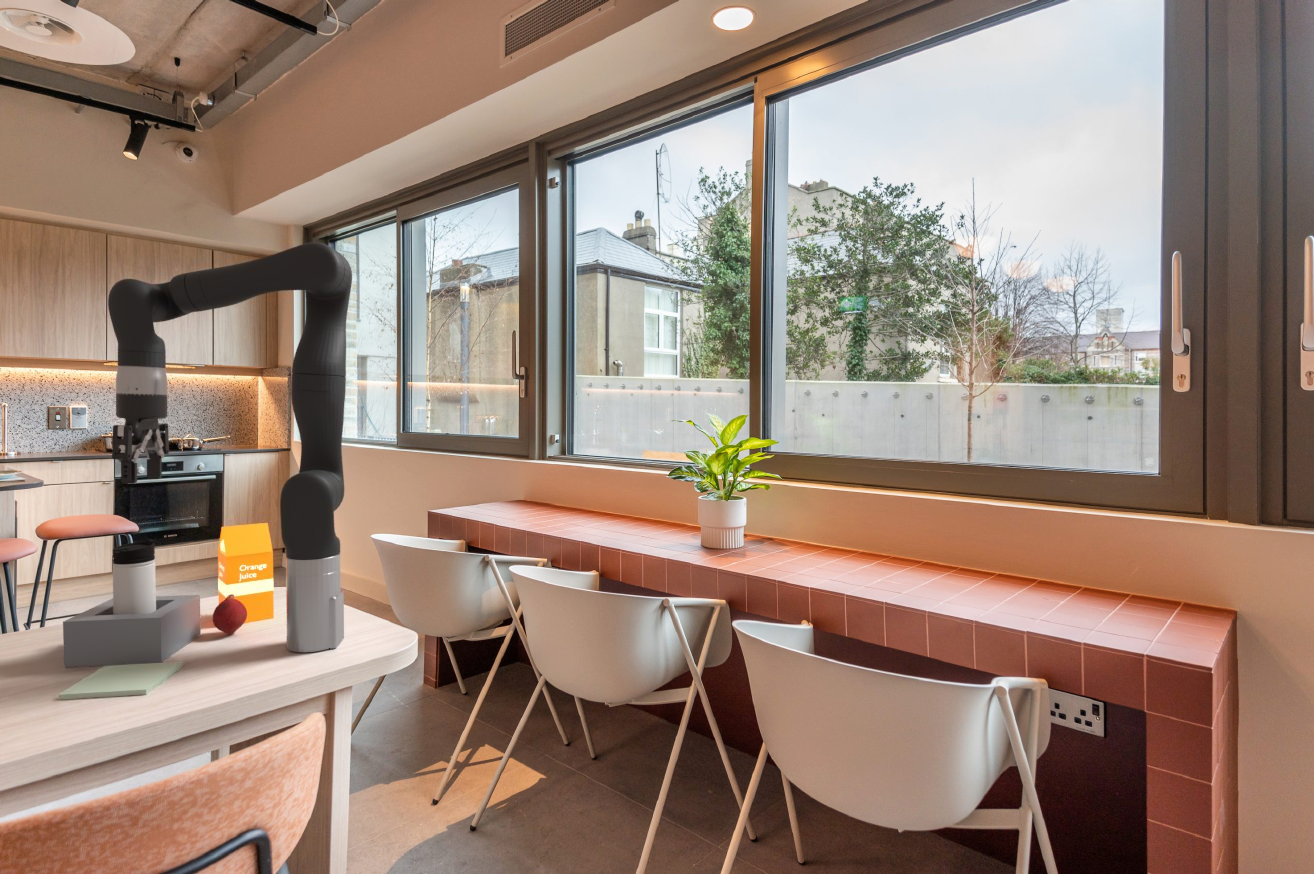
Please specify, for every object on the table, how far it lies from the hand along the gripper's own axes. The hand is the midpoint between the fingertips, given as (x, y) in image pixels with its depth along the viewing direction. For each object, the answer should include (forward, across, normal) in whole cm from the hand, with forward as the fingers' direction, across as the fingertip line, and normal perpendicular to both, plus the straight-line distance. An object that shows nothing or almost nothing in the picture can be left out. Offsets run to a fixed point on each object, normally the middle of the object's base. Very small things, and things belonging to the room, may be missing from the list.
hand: (142, 481), depth 127 cm
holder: (+31, 0, +1) cm, 31 cm away
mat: (+31, -16, -5) cm, 35 cm away
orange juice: (+31, +18, -11) cm, 38 cm away
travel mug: (+32, 0, +1) cm, 32 cm away
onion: (+31, +7, -12) cm, 34 cm away
